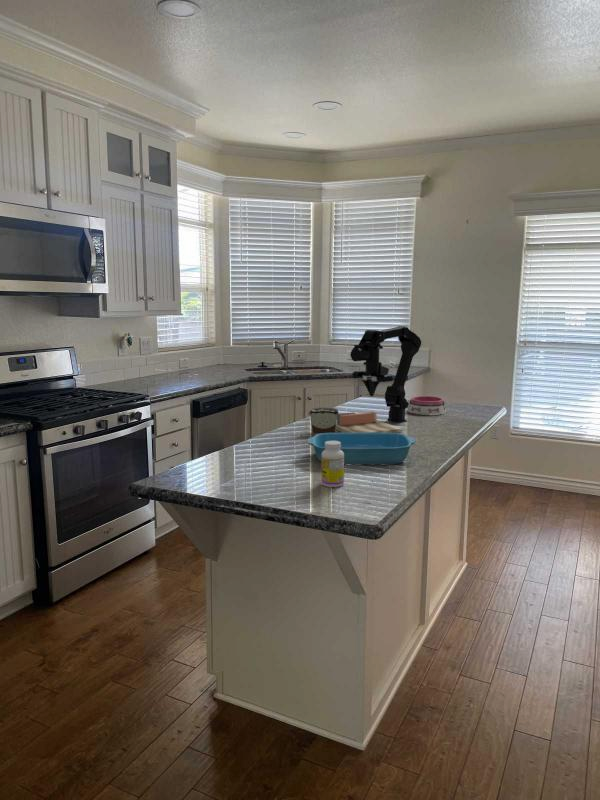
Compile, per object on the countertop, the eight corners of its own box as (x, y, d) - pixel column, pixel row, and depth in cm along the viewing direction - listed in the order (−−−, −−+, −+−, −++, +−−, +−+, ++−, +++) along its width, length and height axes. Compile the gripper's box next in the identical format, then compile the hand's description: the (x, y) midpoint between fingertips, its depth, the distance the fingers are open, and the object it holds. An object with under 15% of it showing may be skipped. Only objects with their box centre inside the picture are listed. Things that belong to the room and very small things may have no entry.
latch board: (376, 423, 261) (376, 409, 260) (402, 432, 243) (402, 417, 242) (332, 427, 252) (332, 414, 251) (356, 437, 234) (356, 422, 233)
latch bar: (374, 420, 257) (374, 411, 257) (377, 421, 255) (377, 412, 254) (339, 424, 250) (339, 414, 249) (342, 425, 248) (342, 415, 247)
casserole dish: (306, 467, 194) (306, 446, 192) (307, 450, 216) (307, 431, 214) (419, 468, 192) (420, 447, 191) (409, 451, 214) (410, 431, 213)
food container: (339, 431, 246) (339, 407, 244) (338, 434, 240) (339, 410, 238) (309, 430, 247) (309, 406, 246) (308, 433, 241) (308, 409, 240)
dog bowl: (445, 416, 276) (445, 402, 275) (405, 414, 281) (405, 400, 280) (447, 409, 293) (447, 396, 292) (409, 408, 298) (409, 394, 297)
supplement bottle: (320, 481, 178) (320, 439, 176) (341, 480, 178) (342, 439, 176) (322, 488, 171) (322, 445, 169) (345, 487, 172) (345, 444, 170)
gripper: (401, 360, 249) (401, 396, 251) (369, 357, 263) (369, 391, 265) (383, 362, 242) (383, 399, 244) (351, 358, 256) (351, 394, 259)
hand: (371, 396), depth 253 cm, fingers closed
